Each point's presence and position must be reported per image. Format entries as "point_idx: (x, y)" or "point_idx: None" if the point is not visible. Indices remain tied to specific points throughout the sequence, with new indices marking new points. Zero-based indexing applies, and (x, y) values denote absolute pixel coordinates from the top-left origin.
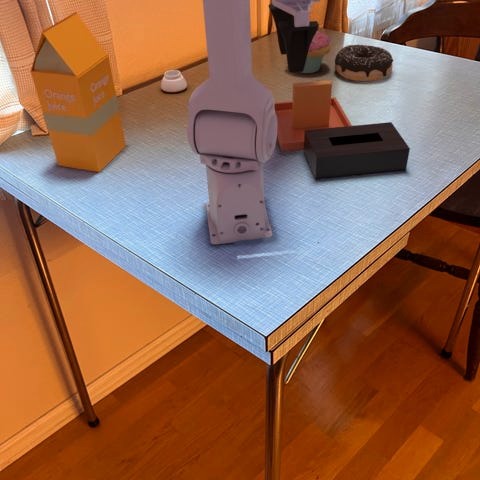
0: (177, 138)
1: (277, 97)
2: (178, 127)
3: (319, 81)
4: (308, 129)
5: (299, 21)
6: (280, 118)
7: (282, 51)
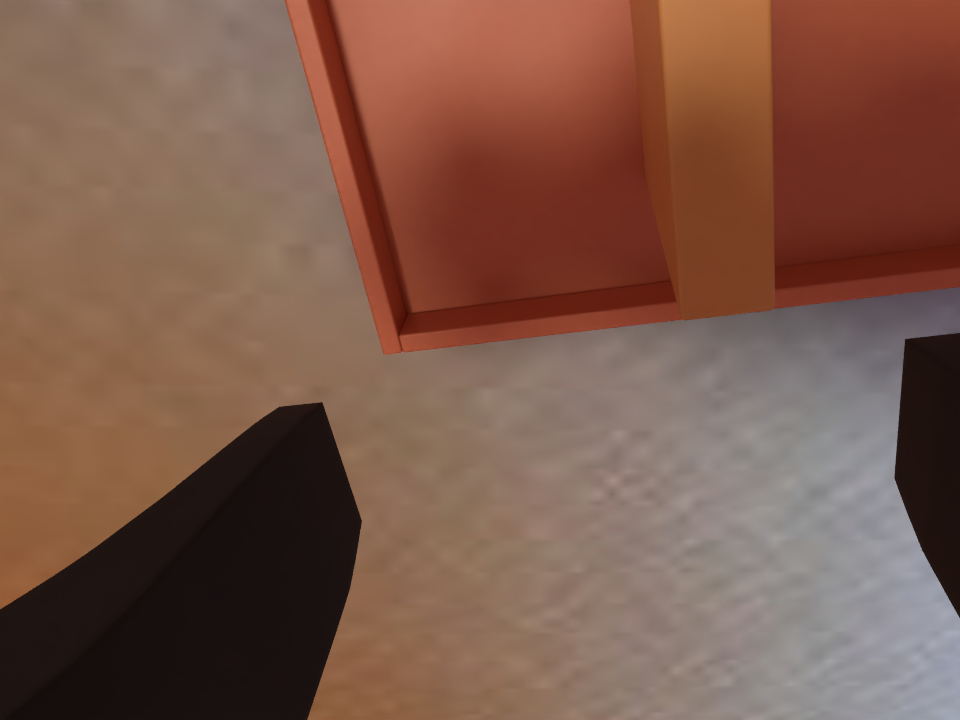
0: (676, 708)
1: (143, 257)
2: (559, 706)
3: (678, 29)
4: None
5: None
6: (525, 256)
7: (350, 535)
